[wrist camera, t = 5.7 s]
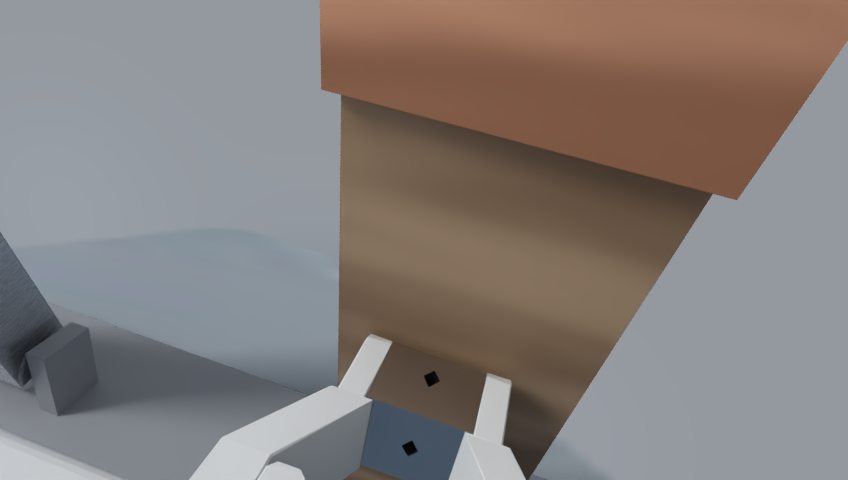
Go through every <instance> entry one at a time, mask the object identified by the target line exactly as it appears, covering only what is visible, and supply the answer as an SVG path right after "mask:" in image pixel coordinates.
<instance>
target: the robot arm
mask: <svg viewBox="0 0 848 480" xmlns="http://www.w3.org/2000/svg"><path fill="white" fill-rule="evenodd" d="M511 388H512V383H511V380H509V379H505V378H502V377H499V376H496V375H493V374H490V373H487V374H486V373H485V372H482V371H479V370H476V369H473V368H470V367H467V366H464V365H461V364H458V363H454V362H451V361H448V360H445V359H442V358H439V357H436V356H433V355H430V354H428V353H425V352H422V351H419V350H416V349H414V348H411V347H408V346H405V345H403V344H400V343H397V342H392V341H390V340H387V339H384V338H382V337H379V336H376V335H373V334H370V335H369V336H368V337H367V338H366V340H365V341H364V343H363V345H362V347H361V348H360V350H359V352H358V354H357V355H356V357H355V359H354V361H353V362H352V364H351V366H350V368H349V369H348V371H347V373H346V375H345V376H344V378H343V380H342V381H341V383H340V385H339V387H335V386H332V385H331V386H329V387H326V388H324V389H322V390H320V391H318V392H316V393H314V394H312V395H310V396H307V397H305V398H303V399H301V400H299V401H297V402H295V403H293V404H291V405H289V406H286V407H284V408H282V409H280V410H278V411H276V412H274V413H272V414H270V415H267V416H265V417H263V418H261V419H259V420H257V421H255V422H253V423H251V424H249V425H246V426H244V427H242V428H240V429H238V430H236V431H234V432H232V433H230V434H227V435H225V436H223V437H222V438H221V439H220V440H219V441H218V443H217V444H216V445H215V447H214V448H213V449H212V451H211V452H210V453H209V454H208V456H207V457H206V458H205V460H204V461H203V462H202V464H201V465H200V466H199V467H198V469H197V470H196V471H195V473H194V474H193V475H192V477H191V478H190V479H189V480H344V479H345V478H346V477H348V476H349V475H350V474H352V473H353V472H354V471H356V470H357V469H358V468H359V467H360V465H362V466H365V467H368V468H371V469H374V470H377V471H380V472H383V473H385V474H388V475H391V476H394V477H397V478H400V479H403V480H526V478H525V476H524V474H523V472H522V470H521V468H520V466H519V465H518V463H517V461H516V459H515V457H514V455H513V453H512V451H511V449H510V448H508V447H506V446H503V441H504V434H505V428H506V421H507V414H508V408H509V401H510V394H511ZM0 480H128V479H126V478H123V477H121V476H118V475H116V474H113V473H111V472H108V471H106V470H103V469H101V468H98V467H96V466H93V465H91V464H88V463H86V462H83V461H81V460H78V459H76V458H73V457H71V456H68V455H66V454H63V453H61V452H58V451H56V450H53V449H51V448H48V447H46V446H43V445H41V444H38V443H36V442H33V441H31V440H28V439H26V438H23V437H21V436H18V435H16V434H13V433H11V432H8V431H6V430H3V429H1V428H0Z"/></svg>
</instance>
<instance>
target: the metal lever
mask: <svg viewBox="0 0 848 480" xmlns="http://www.w3.org/2000/svg"><path fill="white" fill-rule="evenodd" d="M62 328H63V326H62V324H61V323H60V321H59V320H58V318H57V317H56V315H55V314H54V312H53V311H52V309H51V308H50V306H49V305H48V303H47V302H46V300H45V299H44V297H43V296H42V294H41V293H40V291H39V290H38V288H37V287H36V285H35V284H34V282H33V281H32V279H31V278H30V276H29V275H28V273H27V272H26V270H25V269H24V267H23V266H22V264H21V263H20V261H19V259H18V258H17V256H16V255H15V253H14V252H13V250H12V249H11V247H10V246H9V244H8V243H7V241H6V240H5V238H4V237H3V235H2V234H1V232H0V381H2V382H4V383H7V384H9V385H12V386H15V387H17V388H20V389H22V390H25V391H28V392H36V391H35V388H34V384H33V381H32V377H31V374H30V370H29V366H28V363H27V359H26V356H25V353H27V352H28V351H30V350H31V349H33V348H34V347H35V346H37V345H38V344H40V343H41V342H43V341H44V340H46V339H47V338H49V337H50V336H51V335H53V334H54V333H56V332H57V331H59V330H60V329H62Z"/></svg>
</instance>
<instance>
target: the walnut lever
mask: <svg viewBox="0 0 848 480" xmlns="http://www.w3.org/2000/svg"><path fill="white" fill-rule="evenodd" d="M320 34H321V89H322V90H325V91H329V92H333V93H337V94H341V167H340V171H341V172H340V255H339V256H340V257H339V343H338V387H339V385H340V383H341V381H342V380H343V378H344V376H345V375H346V373H347V371H348V369H349V368H350V366H351V364H352V362H353V361H354V359H355V357H356V355H357V354H358V352H359V350H360V348H361V347H362V345H363V343H364V341H365V340H366V338H367V337H368V336H369V335H370V334H373V335H376V336H379V337H382V338H384V339H387V340H390V341H392V342H397V343H400V344H403V345H405V346H408V347H411V348H414V349H416V350H419V351H422V352H425V353H428V354H430V355H433V356H436V357H439V358H442V359H445V360H448V361H451V362H454V363H458V364H461V365H464V366H467V367H470V368H473V369H476V370H479V371H482V372H485V373H486V374H487V373H490V374H493V375H496V376H499V377H502V378H505V379H509V380H511V383H512V388H511V394H510V401H509V408H508V414H507V421H506V428H505V434H504V441H503V446H506V447H508V448H510V449H511V451H512V453H513V455H514V457H515V459H516V461H517V463H518V465H519V466H520V468H521V470H522V472H523V474H524V476H525V478H526V480H528V479H529V478H530V476H531V475H532V473H533V472H534V470H535V469H536V467H537V465H538V464H539V462H540V461H541V459H542V458H543V456H544V455H545V453H546V452H547V450H548V448H549V447H550V445H551V444H552V442H553V441H554V439H555V438H556V436H557V434H558V433H559V431H560V430H561V428H562V427H563V425H564V423H565V422H566V420H567V419H568V417H569V416H570V414H571V413H572V411H573V410H574V408H575V407H576V405H577V403H578V402H579V400H580V399H581V397H582V396H583V394H584V393H585V391H586V389H587V388H588V386H589V385H590V383H591V382H592V380H593V379H594V377H595V376H596V374H597V372H598V371H599V369H600V368H601V366H602V365H603V363H604V362H605V360H606V359H607V357H608V355H609V354H610V352H611V351H612V349H613V348H614V346H615V345H616V343H617V341H618V340H619V338H620V337H621V335H622V334H623V332H624V331H625V329H626V328H627V326H628V324H629V323H630V321H631V320H632V318H633V317H634V315H635V313H636V312H637V311H638V309H639V307H640V306H641V304H642V303H643V301H644V300H645V298H646V297H647V295H648V293H649V292H650V290H651V289H652V287H653V286H654V284H655V283H656V281H657V280H658V278H659V276H660V275H661V273H662V272H663V270H664V269H665V267H666V266H667V264H668V262H669V261H670V259H671V258H672V256H673V255H674V253H675V252H676V250H677V248H678V247H679V245H680V244H681V242H682V241H683V239H684V238H685V236H686V234H687V233H688V232H689V230H690V228H691V227H692V225H693V224H694V222H695V220H696V219H697V217H698V216H699V214H700V213H701V211H702V210H703V208H704V207H705V205H706V204H707V202H708V200H709V199H710V197H711V196H712V194H716V195H720V196H724V197H727V198H731V199H735V200H737V199H738V198H739V196H740V195H741V193H742V192H743V191H744V189H745V188H746V186H747V185H748V183H749V182H750V180H751V179H752V178H753V176H754V175H755V173H756V172H757V170H758V169H759V168H760V166H761V164H762V163H763V162H764V160H765V159H766V157H767V156H768V155H769V153H770V152H771V150H772V148H773V147H774V146H775V144H776V143H777V142H778V140H779V139H780V137H781V136H782V134H783V133H784V131H785V130H786V129H787V127H788V126H789V124H790V123H791V121H792V120H793V118H794V117H795V116H796V114H797V113H798V111H799V110H800V108H801V107H802V106H803V104H804V103H805V101H806V100H807V98H808V97H809V95H810V94H811V93H812V91H813V90H814V88H815V87H816V85H817V84H818V82H819V81H820V80H821V78H822V77H823V75H824V74H825V72H826V71H827V69H828V68H829V67H830V65H831V64H832V62H833V61H834V59H835V58H836V57H837V55H838V54H839V52H840V51H841V49H842V48H843V46H844V45H845V43H846V42H847V41H848V0H320ZM344 480H403V479H400V478H397V477H394V476H391V475H388V474H385V473H383V472H380V471H377V470H374V469H371V468H368V467H365V466H362V465H360V467H359V468H358V469H357V470H356V471H354V472H353V473H352V474H350V475H349V476H348V477H346V478H345V479H344Z"/></svg>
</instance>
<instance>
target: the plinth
mask: <svg viewBox="0 0 848 480" xmlns="http://www.w3.org/2000/svg"><path fill="white" fill-rule="evenodd" d="M47 303H48V302H47ZM48 305H49V306H50V308H51V309H52V311H53V312H54V314H55V315H56V317H57V318H58V320H59V321H60V323H61V324H62V326H63V328H62V329H60V330H59V331H57V332H56V333H54V334H53V335H51V336H50V337H49V338H47V339H46V340H44V341H43V342H41V343H40V344H38V345H37V346H35V347H34V348H33V349H31V350H30V351H28V352H27V353H25V356H26V359H27V363H28V366H29V370H30V374H31V377H32V381H33V384H34V388H35V391H36V392H28V391H25V390H22V389H20V388H17V387H15V386H12V385H9V384H7V383H4V382H2V381H0V428H1V429H3V430H6V431H8V432H11V433H13V434H16V435H18V436H21V437H23V438H26V439H28V440H31V441H33V442H36V443H38V444H41V445H43V446H46V447H48V448H51V449H53V450H56V451H58V452H61V453H63V454H66V455H68V456H71V457H73V458H76V459H78V460H81V461H83V462H86V463H88V464H91V465H93V466H96V467H98V468H101V469H103V470H106V471H108V472H111V473H113V474H116V475H118V476H121V477H123V478H126V479H128V480H189V479H190V478H191V477H192V475H193V474H194V473H195V471H196V470H197V469H198V467H199V466H200V465H201V464H202V462H203V461H204V460H205V458H206V457H207V456H208V454H209V453H210V452H211V451H212V449H213V448H214V447H215V445H216V444H217V443H218V441H219V440H220V439H221V438H222V437H223V436H225V435H227V434H230V433H232V432H234V431H236V430H238V429H240V428H242V427H244V426H246V425H249V424H251V423H253V422H255V421H257V420H259V419H261V418H263V417H265V416H267V415H270V414H272V413H274V412H276V411H278V410H280V409H282V408H284V407H286V406H289V405H291V404H293V403H295V402H297V401H299V400H301V399H303V398H305V397H307V396H310V395H307V394H304V393H301V392H299V391H296V390H293V389H290V388H287V387H284V386H282V385H279V384H276V383H273V382H270V381H268V380H265V379H262V378H259V377H256V376H253V375H251V374H248V373H245V372H242V371H239V370H237V369H234V368H231V367H228V366H225V365H223V364H220V363H217V362H214V361H211V360H208V359H206V358H203V357H200V356H197V355H194V354H192V353H189V352H186V351H183V350H180V349H177V348H175V347H172V346H169V345H166V344H163V343H161V342H158V341H155V340H152V339H149V338H147V337H144V336H141V335H138V334H135V333H132V332H130V331H127V330H124V329H121V328H118V327H116V326H113V325H110V324H107V323H104V322H101V321H99V320H96V319H93V318H90V317H87V316H85V315H82V314H79V313H76V312H73V311H71V310H68V309H65V308H62V307H59V306H56V305H54V304H51V303H48ZM528 480H546V479H543V478H541V477H538V476H535V475H531V476H530V478H529V479H528Z"/></svg>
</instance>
